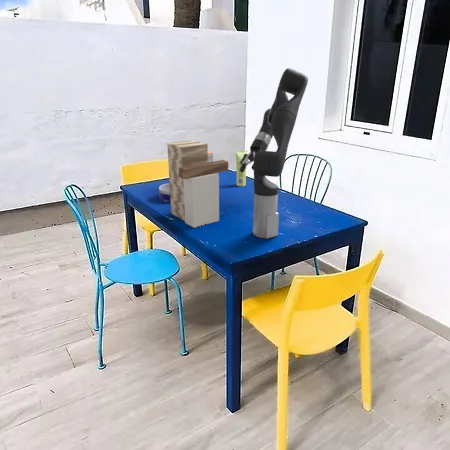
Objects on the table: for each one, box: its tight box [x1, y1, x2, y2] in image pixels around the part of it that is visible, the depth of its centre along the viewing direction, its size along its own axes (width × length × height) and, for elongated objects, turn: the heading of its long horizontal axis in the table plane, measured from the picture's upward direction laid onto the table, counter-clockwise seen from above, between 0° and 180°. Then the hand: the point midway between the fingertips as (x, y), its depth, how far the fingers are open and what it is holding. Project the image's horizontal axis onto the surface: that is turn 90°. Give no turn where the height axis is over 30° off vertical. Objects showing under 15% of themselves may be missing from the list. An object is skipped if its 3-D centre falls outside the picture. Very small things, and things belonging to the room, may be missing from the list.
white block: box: [183, 173, 220, 229], centre depth 165 cm, size 7×13×21 cm, turn 127°
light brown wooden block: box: [179, 159, 229, 179], centre depth 161 cm, size 4×22×4 cm, turn 127°
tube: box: [235, 150, 249, 187], centre depth 216 cm, size 6×5×20 cm
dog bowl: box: [158, 182, 171, 203], centre depth 199 cm, size 15×15×6 cm
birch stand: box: [166, 139, 209, 222], centre depth 172 cm, size 12×12×32 cm
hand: (246, 170), depth 182 cm, fingers open, 8 cm apart
